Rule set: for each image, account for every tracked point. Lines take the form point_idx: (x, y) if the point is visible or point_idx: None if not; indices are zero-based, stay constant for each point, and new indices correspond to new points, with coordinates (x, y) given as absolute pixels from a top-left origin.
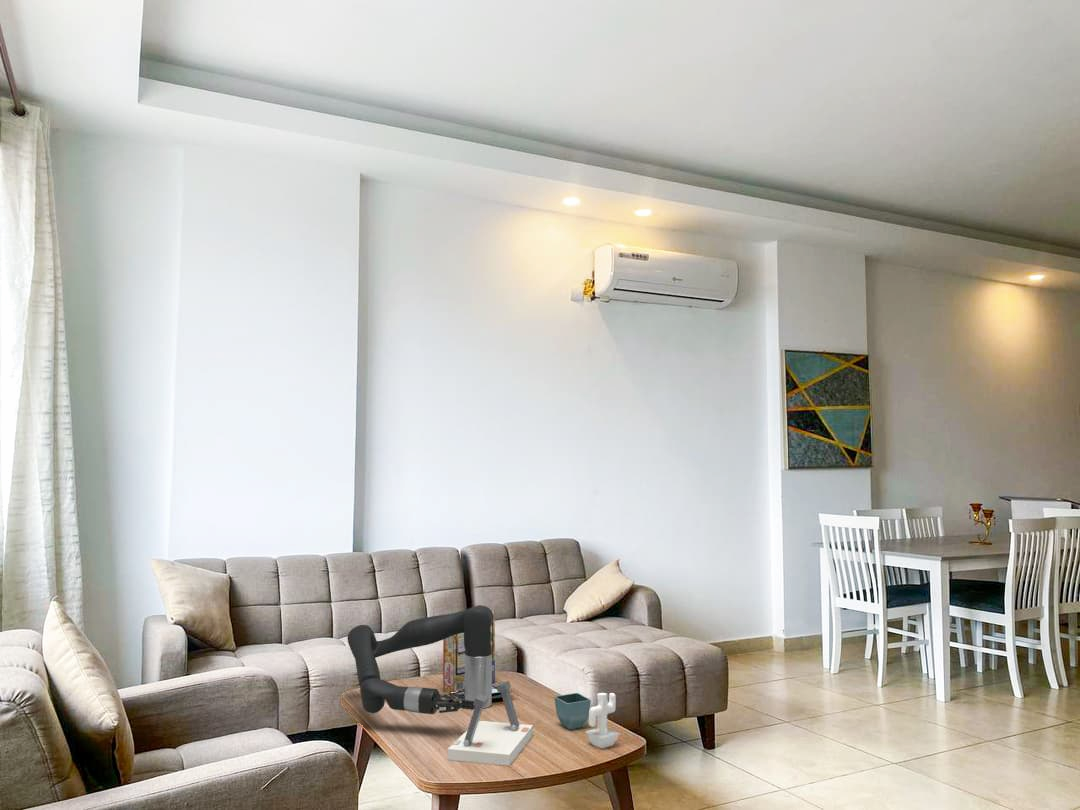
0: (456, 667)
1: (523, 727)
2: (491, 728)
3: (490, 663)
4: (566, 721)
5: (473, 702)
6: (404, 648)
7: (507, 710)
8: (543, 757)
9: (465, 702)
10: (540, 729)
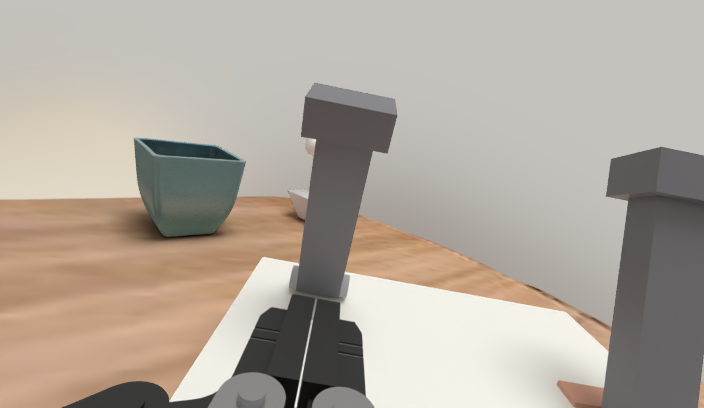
0: None
1: (290, 275)
2: None
3: None
4: (221, 213)
5: (332, 301)
6: None
7: (353, 229)
8: (436, 284)
9: (334, 365)
10: (191, 273)
